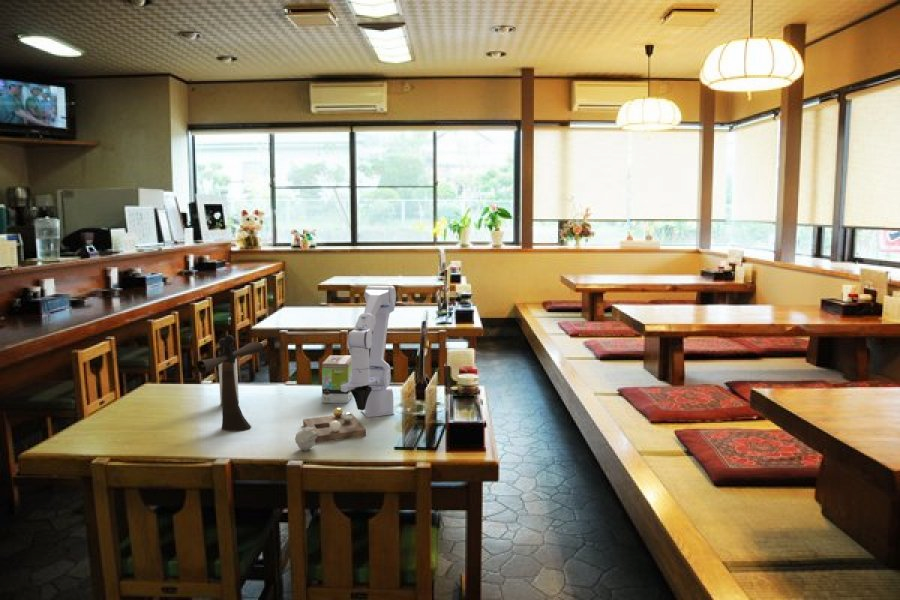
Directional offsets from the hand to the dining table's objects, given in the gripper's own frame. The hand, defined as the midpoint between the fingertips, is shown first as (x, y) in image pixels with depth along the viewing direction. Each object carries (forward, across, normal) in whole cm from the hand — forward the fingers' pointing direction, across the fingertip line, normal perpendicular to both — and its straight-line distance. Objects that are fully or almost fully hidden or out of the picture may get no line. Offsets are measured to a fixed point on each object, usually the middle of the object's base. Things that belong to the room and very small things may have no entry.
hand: (361, 409), depth 211 cm
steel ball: (+2, +4, -2) cm, 5 cm away
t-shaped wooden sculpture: (+6, +26, -30) cm, 40 cm away
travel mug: (+6, +14, -55) cm, 57 cm away
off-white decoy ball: (+2, +12, +2) cm, 12 cm away
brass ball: (+2, +2, -9) cm, 10 cm away
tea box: (+6, -17, -32) cm, 37 cm away
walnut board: (+6, +8, -4) cm, 11 cm away
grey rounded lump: (+6, +24, +4) cm, 25 cm away
